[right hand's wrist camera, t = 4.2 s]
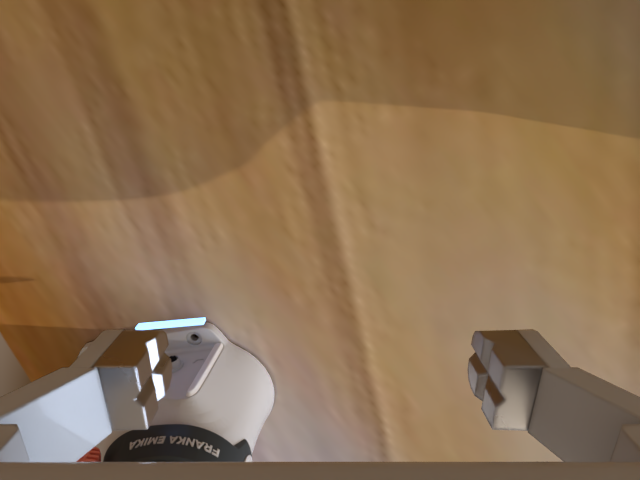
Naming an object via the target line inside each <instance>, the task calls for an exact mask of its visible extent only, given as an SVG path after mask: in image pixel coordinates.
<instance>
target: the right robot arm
mask: <svg viewBox="0 0 640 480" xmlns="http://www.w3.org/2000/svg"><path fill="white" fill-rule="evenodd" d="M205 321H206V319H205V318H193V319H182V320H171V321H160V322H148V323H139V324H138V325H137V326H136V327H135V329H136V330H124V329H122V330H105V331H103V332H102V333H101V334H100V335H99V336H98V337H97V338H96V339H95V340H94V341H92V342H89V343H86V344H85V345H84V347H83V348H82V350H81V351H80V353H79V355H78V358H77V359H76V360H75V361H74V362H73V364H72V365H71V366H70V367H67V368H60V369H58V370H56V371H54V372H52V373H50V374H48V375H46V376H44V377H41V378H39V379H37V380H35V381H33V382H31V383H29V384H27V385H25V386H23V387H20V388H18V389H16V390H14V391H12V392H10V393H8V394H6V395H4V396H1V397H0V480H640V397H638V396H636V395H634V394H632V393H630V392H628V391H626V390H624V389H622V388H619V387H617V386H615V385H613V384H611V383H609V382H607V381H605V380H603V379H601V378H598V377H596V376H594V375H592V374H590V373H588V372H586V371H584V370H582V369H580V368H573V367H570V366H569V365H568V364H567V362H566V361H565V360H564V359H563V358H562V357H561V356H560V355H559V354H558V353H557V352H556V351H555V350H554V349H553V347H552V346H551V345H550V344H549V343H548V342H547V341H546V340H545V339H544V338H543V337H542V336H541V335H540V334H539V332H538V331H535V330H533V329H527V330H500V331H475V332H474V334H473V337H472V343H471V345H472V347H473V348H474V350H475V353H474V354H473V355H472V356H471V357H470V358H469V363H468V378H469V383H470V387H471V389H472V391H473V393H474V395H475V396H476V397H477V398H479V399H480V400H482V401H483V402H482V408H481V409H482V411H483V413H484V415H485V417H486V418H487V420H488V422H489V424H490V426H491V428H492V430H526V431H528V433H529V434H531V435H532V436H533V437H534V438H536V439H537V440H538V441H539V442H540V443H542V444H543V445H544V446H545V447H547V448H548V449H549V450H550V451H551V452H553V453H554V454H555V455H556V456H558V457H559V458H560V459H561V460H562V461H564V462H252V452H253V449H254V447H255V444H256V441H257V438H258V436H259V433H260V430H261V428H262V426H263V424H264V422H265V420H266V419H267V417H268V416H269V414H270V412H271V410H272V407H273V403H274V387H273V383H272V380H271V377H270V375H269V373H268V372H267V370H266V369H265V367H264V366H263V365H262V364H261V362H260V361H259V360H257V359H256V358H255V357H254V356H253V355H252V354H250V353H249V352H247V351H246V350H244V349H242V348H240V347H238V346H236V345H235V344H233V343H231V342H230V341H229V340H228V339H227V338H226V337H225V336H224V335H223V333H222V332H221V331H220V330H219V329H218V328H217V327H216V326H215V325H213V324H211V323H208V322H205ZM160 328H167V329H161V330H149V329H160ZM193 334H196V335H197V336H198V337H195V336H193Z"/></svg>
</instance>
